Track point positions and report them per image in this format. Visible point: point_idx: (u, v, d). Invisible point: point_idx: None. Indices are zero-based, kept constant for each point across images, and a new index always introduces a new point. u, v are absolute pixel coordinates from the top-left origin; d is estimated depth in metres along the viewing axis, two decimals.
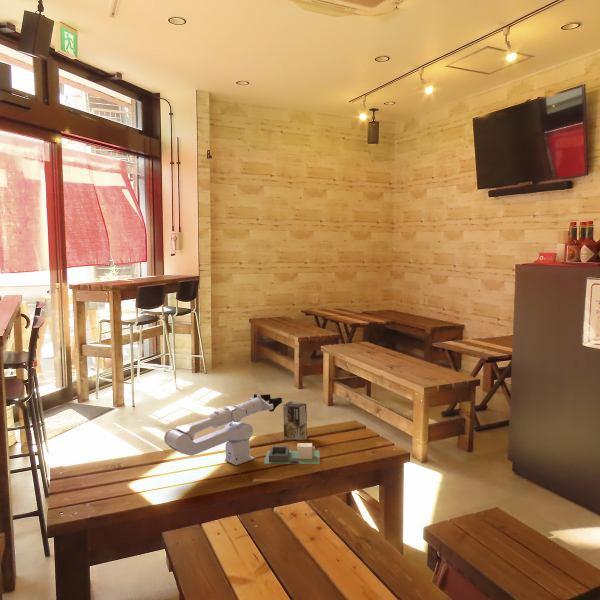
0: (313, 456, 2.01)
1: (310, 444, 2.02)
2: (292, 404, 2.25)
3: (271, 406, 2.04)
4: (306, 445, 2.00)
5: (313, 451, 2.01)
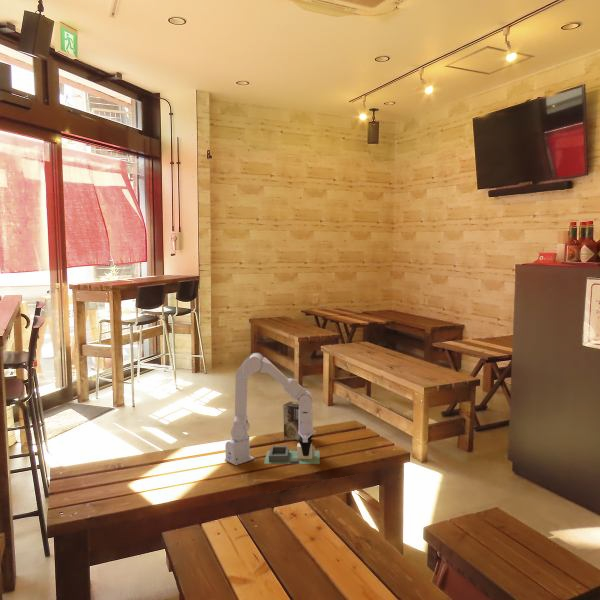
0: (313, 456, 2.01)
1: None
2: (292, 404, 2.25)
3: (305, 439, 1.94)
4: None
5: (313, 451, 2.01)
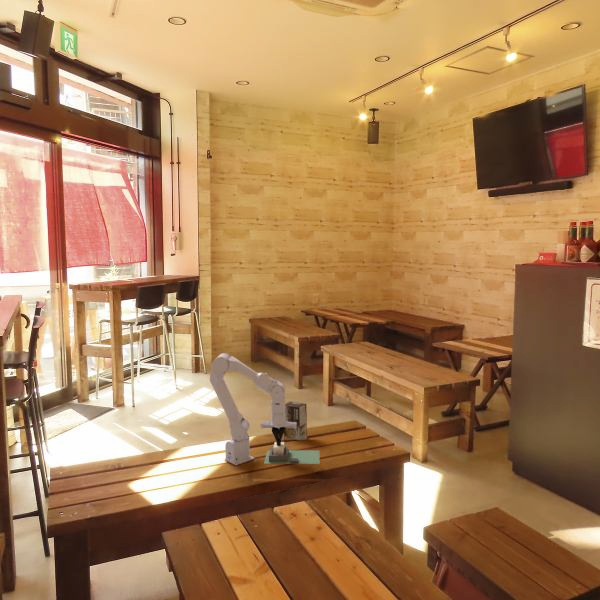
0: None
1: (279, 446, 2.00)
2: (292, 404, 2.25)
3: None
4: (275, 445, 2.02)
5: (275, 453, 1.99)
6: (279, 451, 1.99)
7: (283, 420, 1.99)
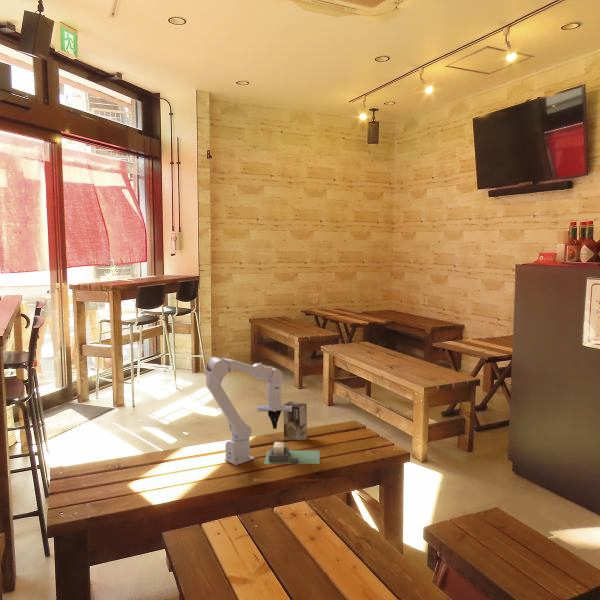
0: None
1: (279, 446, 2.00)
2: (292, 404, 2.25)
3: (257, 409, 2.09)
4: (275, 445, 2.02)
5: (275, 453, 1.99)
6: (279, 451, 1.99)
7: (279, 404, 2.07)
